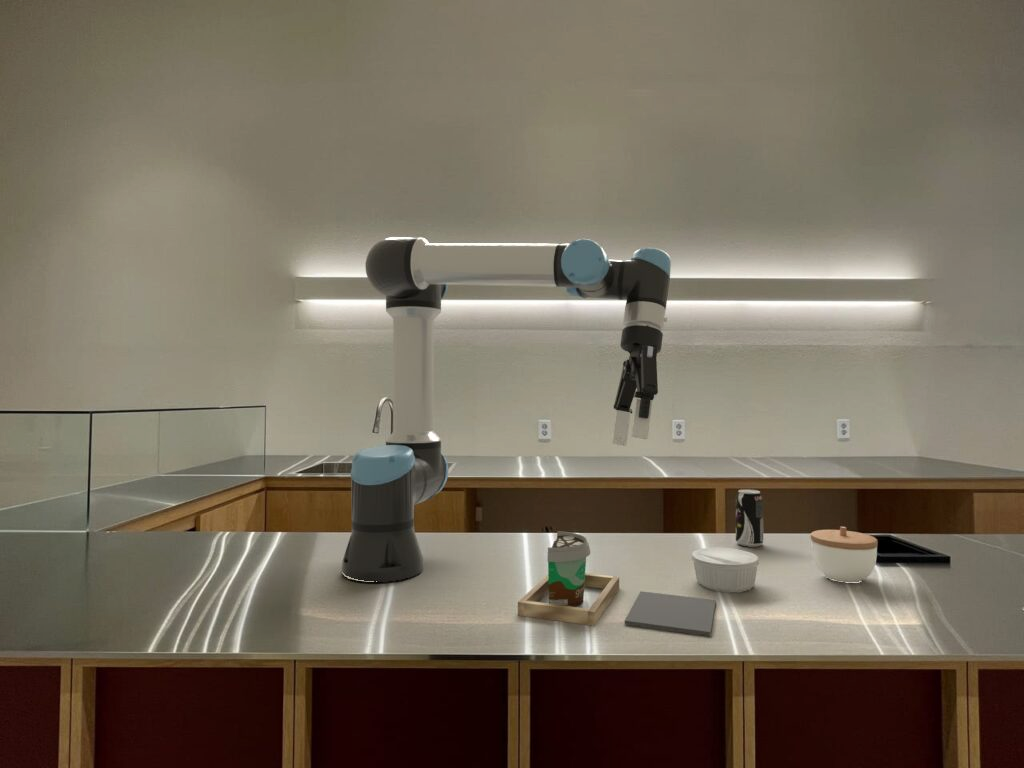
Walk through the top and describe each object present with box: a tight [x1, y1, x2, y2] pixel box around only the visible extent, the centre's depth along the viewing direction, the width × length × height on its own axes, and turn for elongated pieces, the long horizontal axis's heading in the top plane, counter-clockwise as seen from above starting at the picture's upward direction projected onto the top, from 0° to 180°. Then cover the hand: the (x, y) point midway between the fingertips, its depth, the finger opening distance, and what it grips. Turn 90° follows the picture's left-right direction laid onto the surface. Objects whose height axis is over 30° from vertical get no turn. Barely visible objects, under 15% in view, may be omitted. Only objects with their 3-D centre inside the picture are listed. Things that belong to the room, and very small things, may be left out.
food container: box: [547, 530, 591, 607], centre depth 100 cm, size 12×6×10 cm, turn 168°
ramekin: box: [691, 547, 760, 593], centre depth 108 cm, size 11×11×5 cm
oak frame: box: [517, 572, 620, 627], centre depth 100 cm, size 12×18×2 cm, turn 159°
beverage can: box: [734, 488, 764, 548], centre depth 136 cm, size 6×6×12 cm
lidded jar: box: [810, 526, 879, 582], centre depth 111 cm, size 11×11×9 cm
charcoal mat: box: [624, 590, 717, 637], centre depth 94 cm, size 12×14×1 cm
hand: (628, 441), depth 111 cm, fingers open, 13 cm apart
